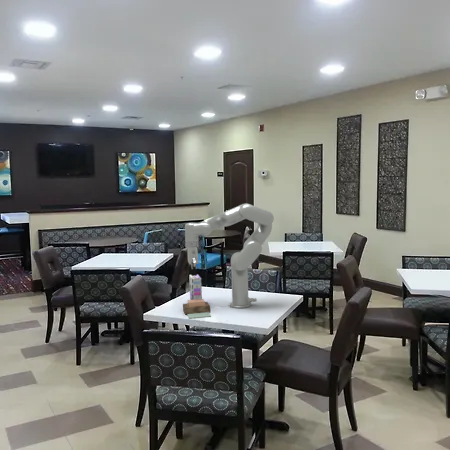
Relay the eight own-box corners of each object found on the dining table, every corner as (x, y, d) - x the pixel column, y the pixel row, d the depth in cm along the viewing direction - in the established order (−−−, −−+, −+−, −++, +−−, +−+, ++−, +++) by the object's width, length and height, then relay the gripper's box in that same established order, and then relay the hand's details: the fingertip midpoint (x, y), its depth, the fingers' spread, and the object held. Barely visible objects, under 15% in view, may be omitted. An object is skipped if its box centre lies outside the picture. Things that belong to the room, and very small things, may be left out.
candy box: (202, 305, 280) (201, 278, 278) (192, 306, 278) (191, 278, 277) (199, 299, 293) (198, 273, 292) (189, 300, 292) (188, 274, 290)
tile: (203, 303, 269) (203, 298, 269) (205, 305, 263) (205, 301, 263) (187, 304, 267) (187, 300, 267) (189, 307, 261) (189, 302, 261)
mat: (208, 313, 263) (208, 312, 263) (211, 316, 255) (211, 315, 255) (187, 315, 260) (187, 314, 260) (189, 318, 253) (189, 317, 253)
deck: (207, 308, 272) (206, 301, 272) (210, 312, 263) (209, 305, 263) (183, 310, 269) (182, 303, 269) (185, 314, 260) (185, 307, 260)
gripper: (201, 245, 263) (201, 276, 264) (195, 242, 280) (196, 271, 281) (187, 246, 261) (188, 277, 263) (183, 242, 278) (184, 272, 280)
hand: (192, 274), depth 272 cm, fingers open, 8 cm apart
